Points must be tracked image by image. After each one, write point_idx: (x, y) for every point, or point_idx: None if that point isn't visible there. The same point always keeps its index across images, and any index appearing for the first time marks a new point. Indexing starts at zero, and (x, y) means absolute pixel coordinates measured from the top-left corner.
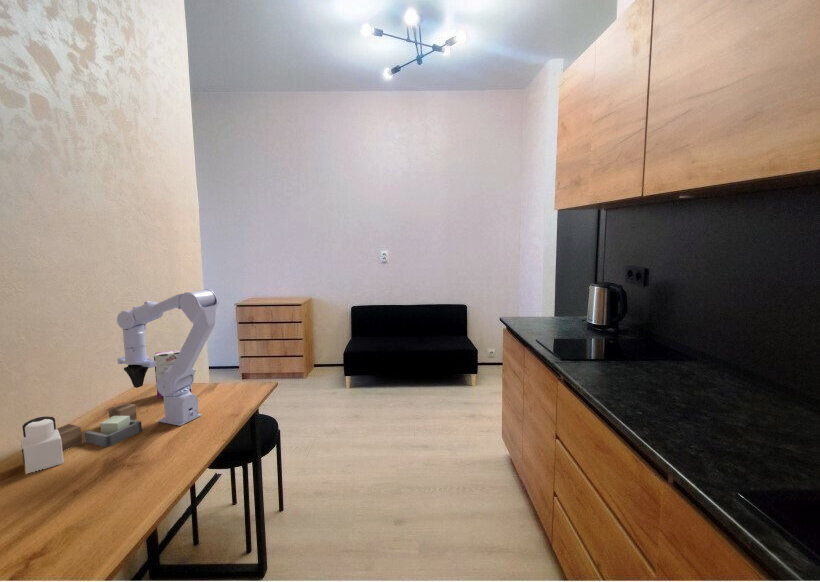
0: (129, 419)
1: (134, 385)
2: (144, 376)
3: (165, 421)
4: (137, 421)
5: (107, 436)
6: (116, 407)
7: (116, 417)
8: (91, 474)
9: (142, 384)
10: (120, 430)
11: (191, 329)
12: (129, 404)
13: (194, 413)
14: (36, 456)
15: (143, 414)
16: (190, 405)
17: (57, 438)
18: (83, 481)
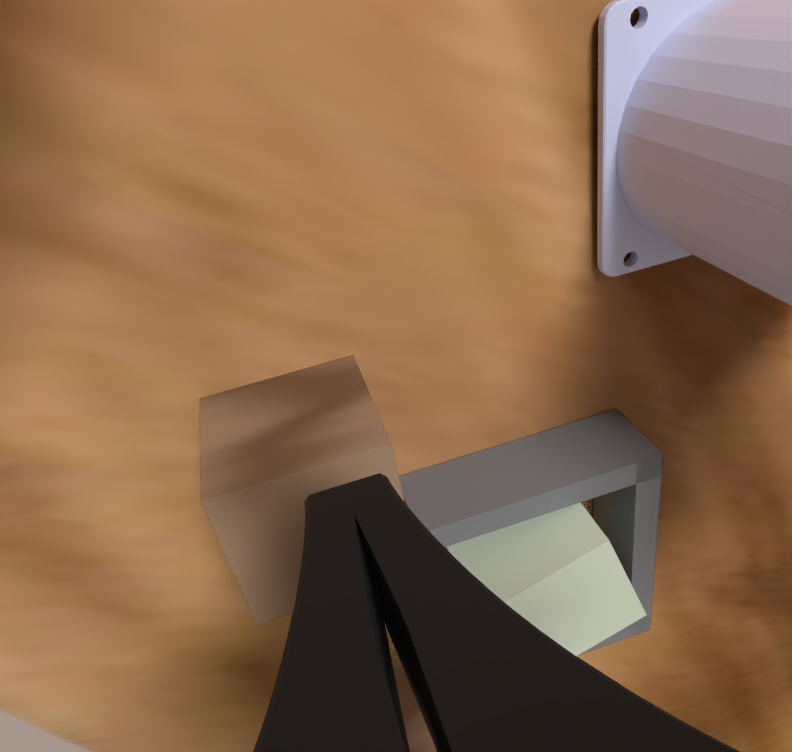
0: (594, 522)
1: (380, 610)
2: (486, 591)
3: (687, 252)
4: (630, 469)
5: (645, 625)
6: (287, 575)
7: (536, 606)
8: (760, 641)
9: (396, 495)
10: (647, 570)
11: None
12: (319, 480)
13: None
14: None
15: (286, 273)
16: None
17: None
18: (773, 660)
